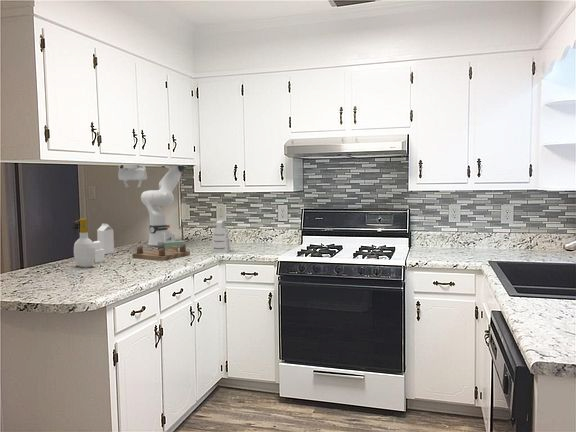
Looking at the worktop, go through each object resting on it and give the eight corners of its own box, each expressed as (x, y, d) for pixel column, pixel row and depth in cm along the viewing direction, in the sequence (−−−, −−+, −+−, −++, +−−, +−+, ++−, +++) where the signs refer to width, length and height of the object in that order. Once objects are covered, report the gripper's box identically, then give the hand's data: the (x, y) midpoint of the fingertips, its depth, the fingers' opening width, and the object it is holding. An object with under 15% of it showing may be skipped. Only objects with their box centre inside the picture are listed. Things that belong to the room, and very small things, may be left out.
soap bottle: (68, 266, 261) (66, 218, 259) (83, 264, 268) (81, 217, 266) (85, 269, 253) (83, 219, 251) (99, 266, 261) (98, 218, 259)
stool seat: (161, 252, 310) (161, 242, 309) (189, 255, 298) (189, 244, 297) (132, 257, 289) (132, 247, 288) (162, 261, 277) (161, 249, 277)
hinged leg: (158, 249, 302) (158, 243, 302) (156, 248, 306) (156, 242, 306) (185, 247, 311) (185, 241, 311) (183, 246, 315) (182, 240, 315)
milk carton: (104, 254, 301) (103, 224, 300) (97, 253, 305) (96, 223, 304) (114, 253, 307) (113, 223, 305) (107, 252, 311) (106, 223, 310)
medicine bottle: (86, 262, 274) (85, 241, 273) (96, 260, 280) (95, 240, 279) (94, 263, 271) (94, 242, 270) (105, 261, 277) (104, 240, 276)
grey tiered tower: (230, 250, 317) (230, 220, 315) (227, 252, 307) (226, 221, 305) (215, 250, 318) (214, 220, 316) (211, 252, 308) (210, 221, 306)
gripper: (148, 165, 314) (149, 187, 315) (122, 166, 321) (123, 186, 322) (142, 165, 308) (143, 187, 309) (116, 166, 315) (117, 187, 316)
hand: (133, 187), depth 316 cm, fingers open, 8 cm apart
